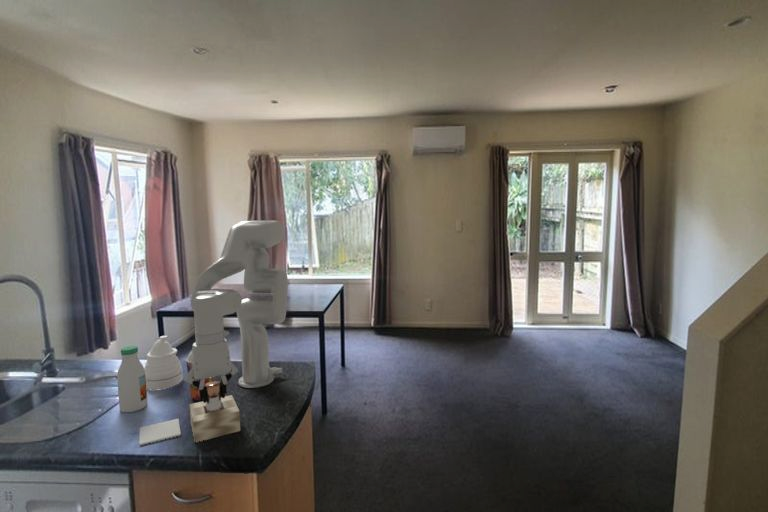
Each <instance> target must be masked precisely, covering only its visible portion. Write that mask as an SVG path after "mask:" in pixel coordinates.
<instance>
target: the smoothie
mask: <svg viewBox="0 0 768 512" xmlns="http://www.w3.org/2000/svg"><path fill="white" fill-rule="evenodd" d="M185 362H186V369H187V374H188V373H189V372H190V370H191V368H192V350H191V351H189V353H188V355H187V357H186V359H185ZM192 378H193V379H195V378H194V375H193V377H192ZM213 378H214V377H212V378H207V379H205V383H204V385H205V384H207V383H209V382H213ZM197 381H198V380H197ZM188 385H189V392H190V396H191V397H192V399H193V400H195V401H201V400H202V399H201V400H200V393H199V388H197V387H196V386H194V385H193V384H190V383H188ZM202 401H203V400H202Z"/></svg>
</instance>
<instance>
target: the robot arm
mask: <svg viewBox="0 0 768 512" xmlns="http://www.w3.org/2000/svg"><path fill="white" fill-rule="evenodd" d="M228 231H229V232H228V233H227V237H226V240H225V242H224V245H223V249H222V252H221V254H220V258H219V259H218V260H216V261H215V262H213V263H212V264H210V265H209V266H208V267H207V268H206V269H205V270H203V272H202V273H201V274H200V275H199V276H198V278H197V279H196V282H195V284H194V287H193V289H192V292H191V296H190V297H191V298H190V308H191V309H192V312H193V316H194V337H195V342H194V343H192V345H191V346H192V348H191V351H192V368H191V370H190V372H189V373H188V372H187V375H186V376H185V378H184V382H186V383H187V384H189V383H190V384H193V385H194V386H196V387H197V388H199V393H200V400H199V401H201V399H202V401H203V402H204V403H205V402H206V389H205V387H204V383H205V379H207V378H212V377H213V378H215V377H220V382H221V397H222V398H225V396H226V394H228V393H227V391H228V390H227V384H228V382H229V381H230V380H231V378H232V376H234V375H235V374H237V373H238V371H239V370H238V368H237V366H236V365H235V364H234V363H233V362H232V361H231V355H230V349H229V344H228V341H227V339H226V337H228V336H230V331H229V330H225V327H224V316H228V315H233V314H235V313H236V317H237V320H238V325H239V331H240V345H241V347H240V349H241V368H242V369H241V370H242V376H241V377H240V378H238V385H239V386H240V387H242V388H246V389H257V388H261V387H265V386H267V385H270V384H271V383H273V382H274V380H275V376H274V375H275V374H281V373H283V368H282V367H277V366H274V367H270V359H269V358H270V355H269V353H270V352H269V334H268V332H267V329H266V327H265V326H264V325H280V324H283V322H284V321H285V320H286V316H287V306H288V303H287V302H288V290H289V289H288V288H289V280H288V275H287V273H286V271H285V270H284V269H281V268H270V267H269V266H270V265H269V264H270V255H269V253H268V252H267V251H268V250H266V249H267V248H272V247H274V246H275V245H278V244H280V243H281V242H282V240H283V238H284V233H285V229H284V225H283V224H282V223H281V222H280V221H279V220H273V219H272V220H268V219H267V220H243V221H240V222H238V223H237V224H234V225H232V226H231V227H230V229H229V230H228ZM242 271H244V274H243V289H244V291H245V292H246V293H248V294H251V295H272V297H246V298H242V295H241V294H240V292H239V291H237V290H235V289H227V288H225V289H223V288H213V287H214V286H215V285H216V284H217V283H219V282H220V281H222V280H224V279H227V278H229V277H232V276H234V275H237V274H239V273H241V272H242ZM193 375H194V378H195V379H193V378H192V377H193ZM197 380H198V381H197Z"/></svg>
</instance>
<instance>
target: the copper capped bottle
mask: <svg viewBox="0 0 768 512" xmlns="http://www.w3.org/2000/svg"><path fill="white" fill-rule="evenodd" d="M204 387H205V389H206V408H207V413H210V412H214V411H218V410H222V408H221V381H218V380H214V381H213V382H209V383H207V384H205V385H204Z"/></svg>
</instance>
